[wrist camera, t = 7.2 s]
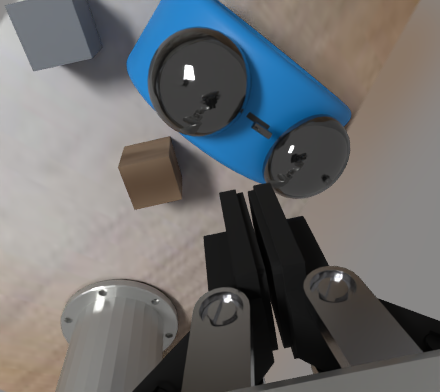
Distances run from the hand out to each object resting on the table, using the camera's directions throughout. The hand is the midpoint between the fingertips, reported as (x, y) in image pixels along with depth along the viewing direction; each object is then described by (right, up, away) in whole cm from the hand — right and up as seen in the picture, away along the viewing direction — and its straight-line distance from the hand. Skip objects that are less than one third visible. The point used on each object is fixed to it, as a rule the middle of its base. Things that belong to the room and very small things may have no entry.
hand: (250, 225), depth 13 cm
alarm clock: (0, +11, +18) cm, 21 cm away
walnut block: (-7, +4, +21) cm, 23 cm away
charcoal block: (-12, +13, +15) cm, 24 cm away
